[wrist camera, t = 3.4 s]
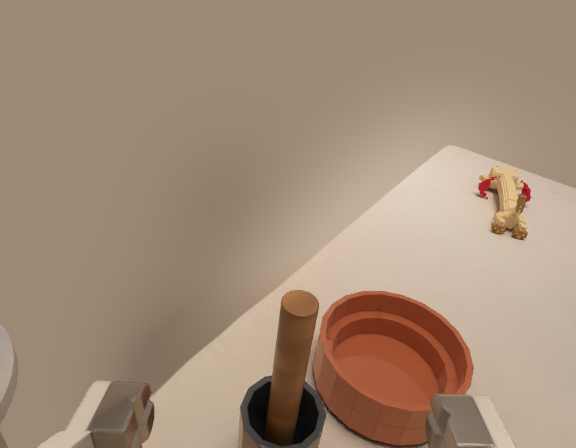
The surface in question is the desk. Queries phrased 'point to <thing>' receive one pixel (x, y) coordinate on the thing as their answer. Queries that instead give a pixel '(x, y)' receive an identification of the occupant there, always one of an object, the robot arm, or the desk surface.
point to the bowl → (388, 364)
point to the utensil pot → (256, 416)
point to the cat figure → (507, 200)
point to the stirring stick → (290, 365)
